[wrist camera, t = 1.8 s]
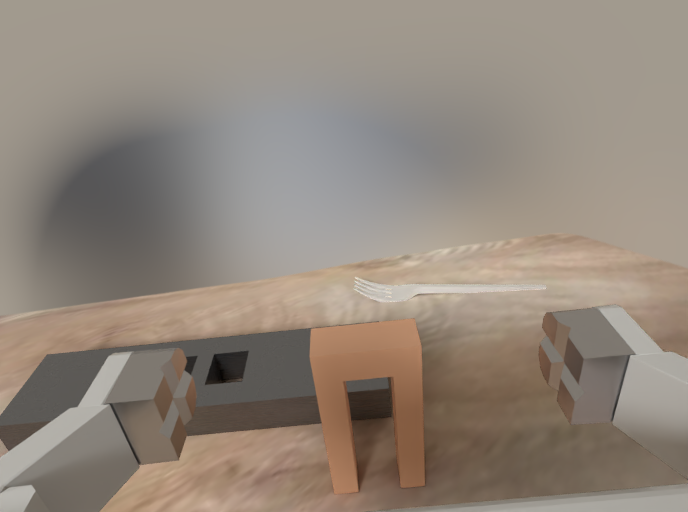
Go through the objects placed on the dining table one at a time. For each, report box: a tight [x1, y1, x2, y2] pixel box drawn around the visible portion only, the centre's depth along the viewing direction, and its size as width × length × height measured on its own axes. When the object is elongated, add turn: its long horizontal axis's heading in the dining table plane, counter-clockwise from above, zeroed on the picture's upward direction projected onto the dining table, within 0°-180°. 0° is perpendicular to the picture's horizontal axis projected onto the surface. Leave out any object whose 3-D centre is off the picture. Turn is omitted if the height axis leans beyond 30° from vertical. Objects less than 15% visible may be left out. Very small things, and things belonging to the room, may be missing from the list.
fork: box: [354, 277, 547, 302], centre depth 50 cm, size 3×20×2 cm, turn 86°
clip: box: [310, 318, 425, 494], centre depth 29 cm, size 2×6×12 cm, turn 92°
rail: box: [0, 322, 391, 451], centre depth 39 cm, size 8×30×3 cm, turn 92°
